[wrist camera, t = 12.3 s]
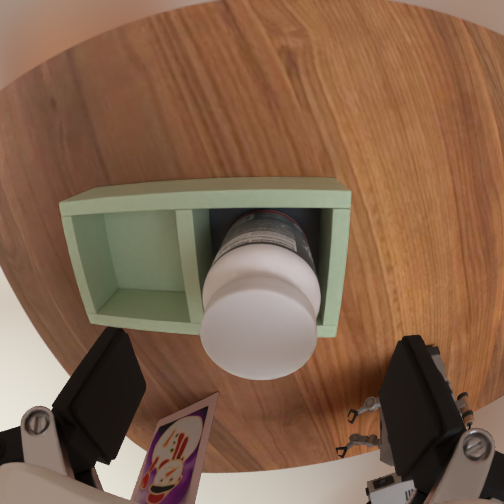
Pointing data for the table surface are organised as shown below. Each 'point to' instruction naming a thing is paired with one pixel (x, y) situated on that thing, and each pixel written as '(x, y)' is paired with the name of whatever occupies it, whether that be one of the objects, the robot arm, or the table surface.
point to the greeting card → (176, 456)
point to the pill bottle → (261, 298)
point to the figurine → (390, 486)
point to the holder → (191, 244)
